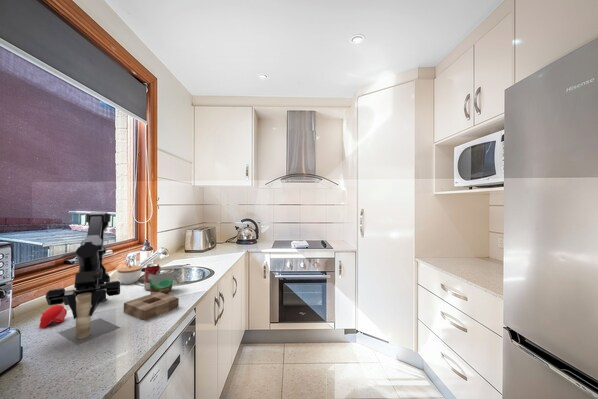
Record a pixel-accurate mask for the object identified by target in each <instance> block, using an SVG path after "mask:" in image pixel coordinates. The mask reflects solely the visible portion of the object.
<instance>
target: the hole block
mask: <svg viewBox="0 0 598 399" xmlns="http://www.w3.org/2000/svg"><path fill="white" fill-rule="evenodd" d="M179 301H180V300H179V297H177V296H174V295H170V294H164V293H161V292H156V293H153V294H151V293H149V294H147V295H144V296H140V297H137V298H134V299H131V300H129V301H125V302H123V310H122V311H123V313H124V314H127V315H129V316H132V317H135V318H137V319H139V320H142V321H147V320H149V319H152V318H155V317H159V316H162V315H163V314H166V313H168V312H170V311H174V310H176V309H178V308H179V305H180V304H179ZM177 307H178V308H177ZM175 308H176V309H175ZM173 309H174V310H173Z"/></svg>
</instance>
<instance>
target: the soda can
mask: <svg viewBox="0 0 598 399" xmlns="http://www.w3.org/2000/svg"><path fill="white" fill-rule="evenodd" d="M159 273H161V266H160V263H158V262H157V263H156V262H154V263H148V264H146V267H145V268H144V289H145V290H147V291H150V280H149V279H148V276H149V274H151V275H156V274H159Z"/></svg>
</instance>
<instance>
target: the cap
mask: <svg viewBox="0 0 598 399" xmlns="http://www.w3.org/2000/svg"><path fill="white" fill-rule="evenodd" d="M67 314H68V311H67V309H66V308H65V305H62V304H57V305H51V307H49V308H48V309H46V310H45V311H44V312H42V314H41V316H40V321H39V326H38V327H39V328H40V329H45V328H47V326H49V324H50V323H51V322H57V323H59V324H61V323H63V322H64V320H65V318H66V317H67Z"/></svg>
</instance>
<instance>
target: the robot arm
mask: <svg viewBox="0 0 598 399" xmlns="http://www.w3.org/2000/svg"><path fill="white" fill-rule="evenodd" d="M111 216H112V215H111V214H110V213H109V212H108V211H90V213H86V214H85V223H87V225H88V230H87V235H86V238H85V239H83V240H82V241H81V243H80V246H79V247H77V248H76V250H75V257H76V259H77V264H78V272H76V273H75V277H74V285H73V286H74V289H69V290H68V289H67V290H65V287H61V288H60V287H59V288H51V289H49V290H48V291H47V292H46V293H45V300H46V303H47V305H48V306H55V305H62V304H63V306H69V308H70V310H71V313H72V317H73V320H76V304H77V295H79V294H82V293H91V311H90V316H91V317H92V316H93V315H94V313H95V311H96V309H97V308H98V307H99V305H100V304H101V303H103V302H106V301H108V298H107V296H108V297H113V296H118V295H120V294H121V282H120V280H114V281H111V280H110V279H111V277H110V276H111V275H109V273H108V272H107V268H106V267H105V266H104V265H103V262H104V261H103V258H104V255H105V254H106V253H107V247H106V246H105V245H104V239H105V238H104V237H105V232H106V230H107V229H108V228H109V224H110V223H111V218H112V217H111Z"/></svg>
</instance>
